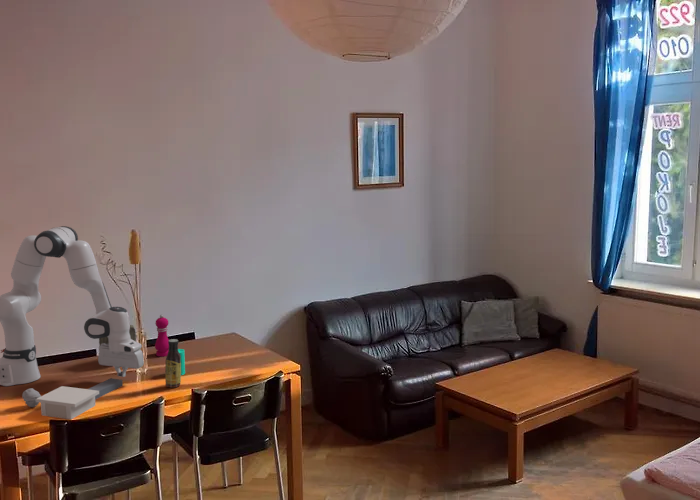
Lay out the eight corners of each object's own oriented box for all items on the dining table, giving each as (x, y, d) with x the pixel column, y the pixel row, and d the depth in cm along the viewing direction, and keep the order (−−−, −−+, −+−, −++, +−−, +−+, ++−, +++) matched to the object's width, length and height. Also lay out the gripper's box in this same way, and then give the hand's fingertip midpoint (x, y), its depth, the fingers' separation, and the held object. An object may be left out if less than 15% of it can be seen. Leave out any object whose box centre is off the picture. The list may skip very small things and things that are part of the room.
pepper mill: (164, 351, 326) (162, 311, 323) (173, 354, 322) (172, 314, 319) (152, 355, 320) (150, 314, 317) (161, 358, 316) (160, 317, 313)
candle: (179, 370, 299) (178, 344, 297) (187, 373, 295) (187, 347, 293) (168, 373, 294) (167, 347, 292) (176, 377, 290) (175, 350, 288)
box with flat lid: (37, 414, 248) (36, 398, 247) (62, 401, 262) (61, 386, 261) (75, 420, 244) (74, 404, 243) (99, 406, 257) (99, 390, 256)
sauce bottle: (162, 387, 278) (160, 341, 275) (171, 382, 284) (170, 337, 281) (175, 389, 275) (174, 343, 272) (184, 384, 281) (183, 339, 278)
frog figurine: (30, 402, 260) (29, 385, 259) (45, 404, 258) (44, 387, 257) (19, 408, 254) (17, 390, 253) (34, 410, 252) (33, 392, 251)
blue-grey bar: (92, 401, 262) (92, 394, 262) (80, 399, 264) (80, 392, 264) (122, 386, 279) (122, 379, 279) (111, 384, 281) (110, 378, 281)
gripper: (94, 345, 281) (96, 376, 283) (136, 349, 276) (137, 380, 278) (103, 340, 287) (105, 371, 289) (144, 344, 282) (146, 376, 284)
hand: (121, 376), depth 284 cm, fingers closed
